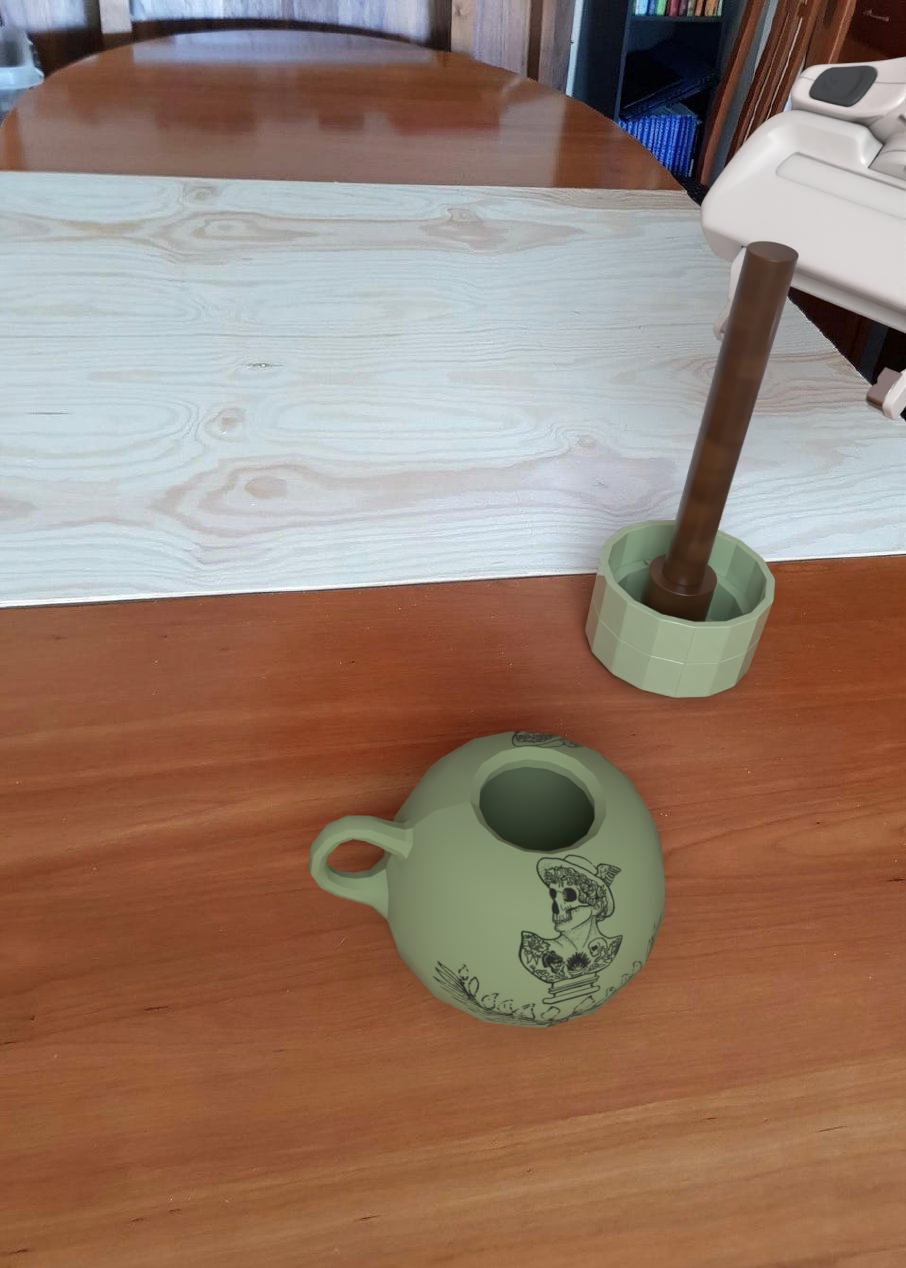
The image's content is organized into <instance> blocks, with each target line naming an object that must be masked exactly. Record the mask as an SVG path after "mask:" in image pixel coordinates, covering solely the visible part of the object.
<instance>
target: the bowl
mask: <svg viewBox="0 0 906 1268" xmlns="http://www.w3.org/2000/svg"><path fill="white" fill-rule="evenodd" d="M675 520H676V519H649V520H645V521H640V522H638V523H634V524H631V525H630V524H629V525H627V526H624V527H621V529H619V530H618V531H617V532H616V533H614V534H613V535H612V536H610V537H609V538H608V539H607V540H605V542H604V544H603V546H602V547H603V548H602V552H601V555H600V557H599V561H598V566H597V571H596V575H595V580H594V586H593V590H592V594H591V598H590V599H591V600H590V604H589V609H588V614H587V618H586V623H585V628H584V632H585V635H586V638H587V641H588V644H589V648H590V651H591V653H592V654H593V655H594V656H595V657H596V658H597V659H598V660H599V661H600V663H601V664H602V665H603V666H604V667H605V668H606V669H607V670H608V671H609V672H610V673H611V674H612V675H613V676H615V677H617V678H619V679H621V680H622V681H625V682H626V683H628V684H629V685H631V686H633V687H635V688H637V689H639V690H641V691H646V692H649V693H654V694H657V695H661V696H666V697H669V698H675V699H678V698H679V699H680V698H681V699H682V698H707V697H712V696H714V695H716V694H718V693H722V692H724V691H727V690H729V689H732V688H734V687H735V686H736V684H737V683H739V682H740V680H741V679H742V678H743V677H744V675H746V673H748V671H749V670H750V667H751V665H752V662H753V659H754V657H755V653H756V650H757V648H758V646H759V642H760V639H761V637H762V634H763V632H764V628H765V625H766V623H767V621H768V617H769V614H770V611H771V609H772V606H773V603H774V601H775V600H774V599H775V588H776V587H775V586H776V579H775V577H774V576H773V573H772V571H771V570H770V568H769V566H768V564H767V563H766V561H765V559H764V558H763V557H762V556H761V555H760V554H758V553H757V552H756V551H755V550H753V549H752V548H751V547H750V546H749V545H748V544H746V543H745V542H744V541H743V540H741V539H739V538H737V537H734V536H733V535H730V534H728V533H726V532H725V531H722V530H720V529H718V532H717V535H716V538H715V542H714V545H713V549H712V552H711V555H710V559H709V562H708V565H709V566H710V567H711V568H712V569H713V570H714V571H715V573H716V576H717V585H716V588H715V591H714V595H713V598H712V601H711V604H710V608H709V611H708V614H707V617H706V621H705V622H693V621H689V620H685V619H680V618H676V617H672V616H667V615H663V614H661V613H659V612H657V611H655V610H653V609H651V608H649V607H647V606H645V605H643V604H641V603H640V600H641V596H642V592H643V588H644V584H645V580H646V576H647V572H648V568H649V565H650V563H651V562H652V561H653V560H654V559H655V558H656V557H658V556H660V555H663V554H667V550H668V547H669V543H670V539H671V535H672V531H673V527H674V524H675Z"/></svg>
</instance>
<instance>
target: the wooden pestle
mask: <svg viewBox="0 0 906 1268" xmlns="http://www.w3.org/2000/svg"><path fill="white" fill-rule="evenodd" d="M798 258H799V254H798V252H797V251H796V250H794V249H793V248H791V247H789V246H787V245H784V244H781V243H776V242H770V241H756V242H752V243H750V244H748V246H747V248H746V252H745V256H744V259H743V263H742V267H741V271H740V275H739V279H738V282H737V286H736V290H735V294H734V298H733V302H732V305H731V309H730V313H729V317H728V321H727V325H726V328H725V332H724V336H723V340H722V342H721V344H720V347H719V352H718V355H717V359H716V363H715V367H714V371H713V375H712V379H711V382H710V386H709V390H708V394H707V397H706V402H705V405H704V409H703V412H702V417H701V420H700V424H699V428H698V431H697V436H696V440H695V443H694V448H693V452H692V454H691V459H690V463H689V467H688V471H687V474H686V478H685V481H684V485H683V490H682V493H681V497H680V501H679V504H678V508H677V512H676V516H675V519H674V520H675V524H674V527H673V531H672V535H671V539H670V543H669V547H668V550H667V554H663V555H660V556H658V557H656V558H655V559H654V560H653V561H652V562H651V563H650V565H649V568H648V572H647V576H646V580H645V584H644V588H643V592H642V596H641V600H640V603H641V604H643V605H645V606H647V607H649V608H651V609H653V610H655V611H657V612H659V613H661V614H663V615H667V616H672V617H676V618H680V619H685V620H689V621H693V622H705V621H706V617H707V614H708V611H709V608H710V604H711V601H712V598H713V595H714V591H715V588H716V585H717V576H716V573H715V571H714V570H713V569H712V568H711V567H710V566H709V565H708V562H709V559H710V555H711V552H712V549H713V545H714V542H715V538H716V535H717V532H718V530H719V528H720V525H721V521H722V518H723V515H724V511H725V508H726V504H727V501H728V497H729V494H730V492H731V487H732V484H733V481H734V478H735V474H736V472H737V471H736V470H737V467H738V464H739V460H740V457H741V455H742V454H741V453H742V450H743V447H744V443H745V441H746V437H747V433H748V430H749V427H750V423H751V420H752V416H753V413H754V409H755V407H756V402H757V399H758V397H759V393H760V389H761V386H762V383H763V380H764V377H765V372H766V369H767V366H768V363H769V359H770V356H771V352H772V348H773V346H774V342H775V338H776V335H777V332H778V328H779V325H780V322H781V319H782V314H783V312H784V308H785V305H786V301H787V298H788V294H789V290H790V287H791V286H790V285H791V281H792V278H793V275H794V271H795V268H796V264H797V261H798Z"/></svg>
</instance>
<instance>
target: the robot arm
mask: <svg viewBox="0 0 906 1268" xmlns="http://www.w3.org/2000/svg"><path fill="white" fill-rule="evenodd" d="M790 102H791V110H785V111H782V112H779V113H776V114H775V115H773V116H772V117H770V118H769V119H768V118H767V120H765V121H764V122H762V124H760V125H759V126H758V127H756V129H755V130H754V131H753V132H752V133H751V135H749V137H748V138H747V139H746V141H745V142H744V143H743V144H742V145H741V146H740V148H739V149H738V150H737V151H736V153H735V154H734V156H733V157H732V158H731V159H730V161H729V162H728V163H727V164H726V166H725V167H724V168H723V170H722V171H721V173H720V174H719V175H718V176H717V178H716V179H715V181H714V183H713V184H712V185H711V186H710V188H709V190H708V191H707V193H706V194H705V196H704V198H703V200H702V202H701V205H700V208H699V220H700V221H699V222H700V228H701V231H702V234H703V237H704V238H705V240H706V242H707V244H708V246H709V249H710V250H711V252H712V253H713V255H715V256H716V257H717V258H720V259H722V260H725V261H728V262H730V263H731V264H730V269H729V271H730V272H729V283H728V293H727V294H728V295H727V297H728V298H727V300H728V302H727V304H726V305H725V306H724V308H723V309H722V311H721V312H720V313H719V315H718V316H717V318H716V319H715V320H714V323H713V326H712V332H713V335H714V336H715V338H716V340H717V341H718V342H721V343H722V340H723V336H724V332H725V328H726V325H727V321H728V317H729V313H730V309H731V305H732V302H733V298H734V294H735V290H736V286H737V282H738V279H739V275H740V271H741V267H742V263H743V259H744V256H745V252H746V248H747V246H748V244H750V243H752V242H756V241H770V242H776V243H781V244H784V245H787V246H789V247H791V248H793V249H794V250H796V251H797V252H798V254H799V258H798V261H797V264H796V268H795V271H794V275H793V278H792V281H791V285H790V287H791V288H794V289H797V290H799V291H802V292H805V293H806V294H809V295H811V296H814V297H816V298H819V299H820V300H824V301H825V302H827V303H828V302H829V303H831V304H833V305H836V306H838V307H840V308H843V309H846V310H847V311H850V312H853V313H854V314H858V315H860V316H863V317H864V318H865V317H866V319H867V318H868V319H870V320H872V321H875V322H878V323H880V324H881V325H885V326H887V327H889V328H892V329H895V330H897V331H899V332H902V333H904V334H906V56H903V57H897V58H891V59H884V60H875V61H865V62H864V61H863V62H849V63H845V62H844V63H824V64H823V63H822V64H815V65H811V66H809V67H807V68H806V69H804V70H803V71H802V72H801V74H799V76H798V78H797V79H796V80H795V82H794V83H793V85H792V87H791V90H790ZM865 403H866V404H867V406H866V407H867V409H869V410H871V411H872V412H874V413H877V414H879V415H881V416H883V417H885V418H887V419H890V420H892V421H895V420H896V419H898V418H899V416H901V413H902V412H903V411H904V410H905V408H906V368H905V369H904V370H902V371H900V372H898V371H895V370H893V369H890V368H888V367H886V366H885V367H884V368H883V370H882V371H881V372H880V374H879V375H878V377H877V383H875V384H873V385H871V387H870V388H869V390H868V391H867V392H866V396H865Z"/></svg>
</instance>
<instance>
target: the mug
mask: <svg viewBox="0 0 906 1268" xmlns="http://www.w3.org/2000/svg"><path fill="white" fill-rule="evenodd" d="M352 840H355V841H362V842H367V843H368V844H371V845H374V846H376V847H378V848H381V849H383V856H382V858H381V859H380V860H379V861H377V863H375V864H374V865H373V866H372V867H371V868H369V869H364V870H360V871H356V872H351V871H341V870H339V869H337V868H335V867H333V866H330V865H329V863H328V859H329V856H330V854H331V853H332V852H333V851H334V850H335V849H337V847H338V846H339V845H340V844H343V843H346V842H349V841H352ZM662 845H663V844H662V840H661V837H660V833H659V829H658V825H657V824H656V822H655V820H654V818H653V816H652V814H651V812H650V810H649V808H648V807H647V806H646V804H645V802H644V800H643V799H642V797H641V795H640V793H639V792H638V790H637V788H636V786H635V785H634V782H633V781H632V780H631V777H629V776H627V774H625V773H624V772H623V771H622V770H621V769H619V768H618V767H617V766H615V765H614V764H613V763H612V762H611V761H610V760H608V759H607V758H606V757H605V756H603V755H602V754H601V753H600V752H598V751H597V750H594V749H592V748H590V747H587V746H585V745H582V744H580V743H577V742H575V741H572V740H570V739H567V738H565V737H563V736H559V735H557V734H551V733H550V734H549V733H540V732H532V731H531V732H530V731H522V730H521V731H520V730H512V731H507V732H501V733H496V734H492V735H485V736H481V737H477V738H472V739H471V740H469V741H467V742H466V743H464V744H463V745H461V746H458V747H457V748H456V749H454V750H452V751H451V752H448V754H445V755H444V756H442V757H441V758H439V759H438V760H437V761H435V762H434V763H433V764H432V765H431V766H430V767H428V769H427V771H426V772H425V773H424V775H423V776H422V777H421V778H420V780H419V781H418V782H417V784H416V785H415V786H414V788H413V790H412V791H411V792H410V794H409V795H408V797H407V798H406V799H405V801H404V803H403V804H402V806H401V807H400V809H399V810H398V811H397V813H396V814H395V816H394V817H393V821H391V820H387V819H384V818H379V817H376V816H372V815H345V816H343V817H340V818H339V819H336V820H333V821H331V822H329V823H327V824H326V825H325V826H324V828H323V829H322V830H321V831H319V833H318V834H317V835H316V837H315V838H313V841H312V843H311V846H310V849H309V856H308V864H307V869H308V871H309V874H310V875H311V877H312V878H313V880H314V881H315V883H316V884H317V885H318V887H319V889H322V890H324V891H326V892H327V893H329V894H331V895H333V896H336V897H338V898H342V899H345V900H348V901H352V902H356V903H357V904H362V905H365V906H369V907H371V908H372V909H373V910H375V911H376V912H377V914H379V915H380V916H381V917H382V918H384V919H385V920H386V922H387V925H388V928H389V930H390V934H391V937H392V939H393V942H394V945H395V948H396V950H397V954H398V956H399V959H400V960H401V961H402V963H404V965H405V966H406V967H407V968H408V969H409V970H410V971H411V973H413V975H414V976H415V977H416V978H417V979H418V980H419V982H420V983H421V984H422V985H423V986H424V987H425V989H427V990H428V992H429V993H430V994H431V995H432V996H433V997H434V998H435V999H437V1000H439V1001H442V1002H443V1003H445V1004H447V1005H449V1006H450V1007H453V1008H455V1009H457V1010H459V1011H462V1012H463V1013H466V1014H467V1015H470V1016H472V1017H473V1018H476V1019H478V1020H480V1021H482V1022H483V1023H488V1024H495V1025H505V1026H514V1027H525V1028H532V1029H533V1028H534V1029H541V1030H542V1029H545V1028H548V1027H552V1026H556V1025H559V1024H563V1023H567V1022H570V1021H573V1020H577V1019H579V1018H580V1019H581V1018H584V1017H588V1016H591V1015H594V1014H595V1013H596V1012H598V1011H599V1010H601V1008H602V1007H603V1006H604V1005H606V1004H607V1003H608V1002H610V1001H611V1000H612V999H613V998H614V997H615V996H617V994H619V993H620V992H621V991H622V990H624V989H625V988H626V987H627V986H628V985H630V983H632V981H633V980H634V979H635V978H636V976H637V975H638V974H639V973H640V972H641V971H642V969H643V967H644V966H645V965H646V964H647V962H648V959H649V957H650V954H651V952H652V950H653V947H654V944H655V942H656V939H657V937H658V934H659V932H660V930H661V927H662V924H663V922H664V920H665V908H666V891H667V890H666V889H667V888H666V877H665V867H664V857H663V856H664V855H663V848H662V847H663V846H662Z"/></svg>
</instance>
